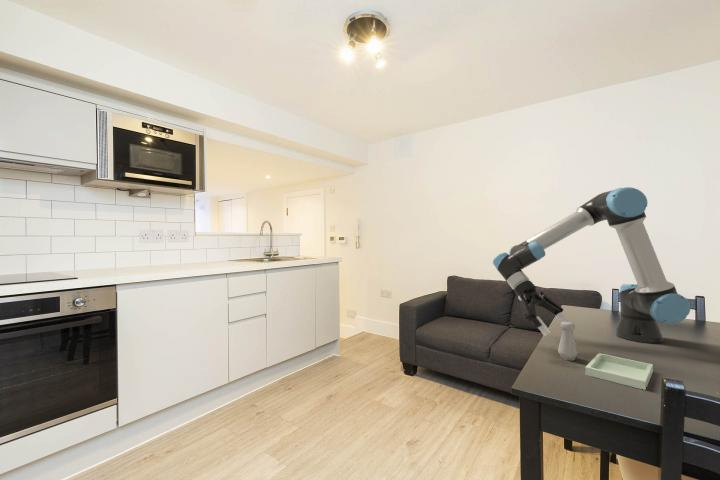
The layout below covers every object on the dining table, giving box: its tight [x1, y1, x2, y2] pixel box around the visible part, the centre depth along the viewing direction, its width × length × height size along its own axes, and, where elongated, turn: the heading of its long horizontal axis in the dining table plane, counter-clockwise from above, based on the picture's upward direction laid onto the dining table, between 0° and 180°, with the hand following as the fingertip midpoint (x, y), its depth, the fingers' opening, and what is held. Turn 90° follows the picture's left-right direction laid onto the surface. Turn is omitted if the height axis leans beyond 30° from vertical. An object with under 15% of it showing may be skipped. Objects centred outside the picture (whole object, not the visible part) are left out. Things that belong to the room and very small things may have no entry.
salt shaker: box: [557, 321, 578, 362], centre depth 111 cm, size 6×6×13 cm
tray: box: [584, 352, 654, 391], centre depth 99 cm, size 18×14×2 cm
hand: (559, 331), depth 113 cm, fingers open, 13 cm apart
